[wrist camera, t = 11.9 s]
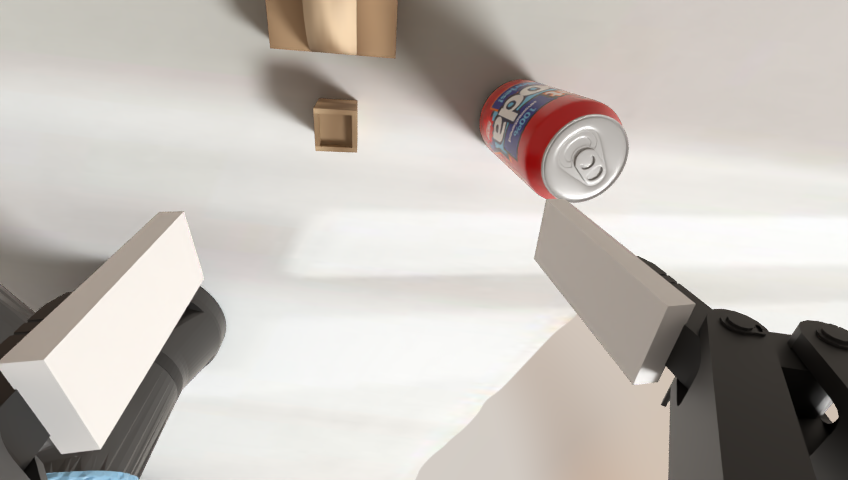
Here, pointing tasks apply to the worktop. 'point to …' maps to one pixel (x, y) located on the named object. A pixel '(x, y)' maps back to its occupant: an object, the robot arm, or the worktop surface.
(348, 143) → the hollow wooden sleeve
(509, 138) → the soda can
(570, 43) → the worktop surface
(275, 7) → the tan rounded block
